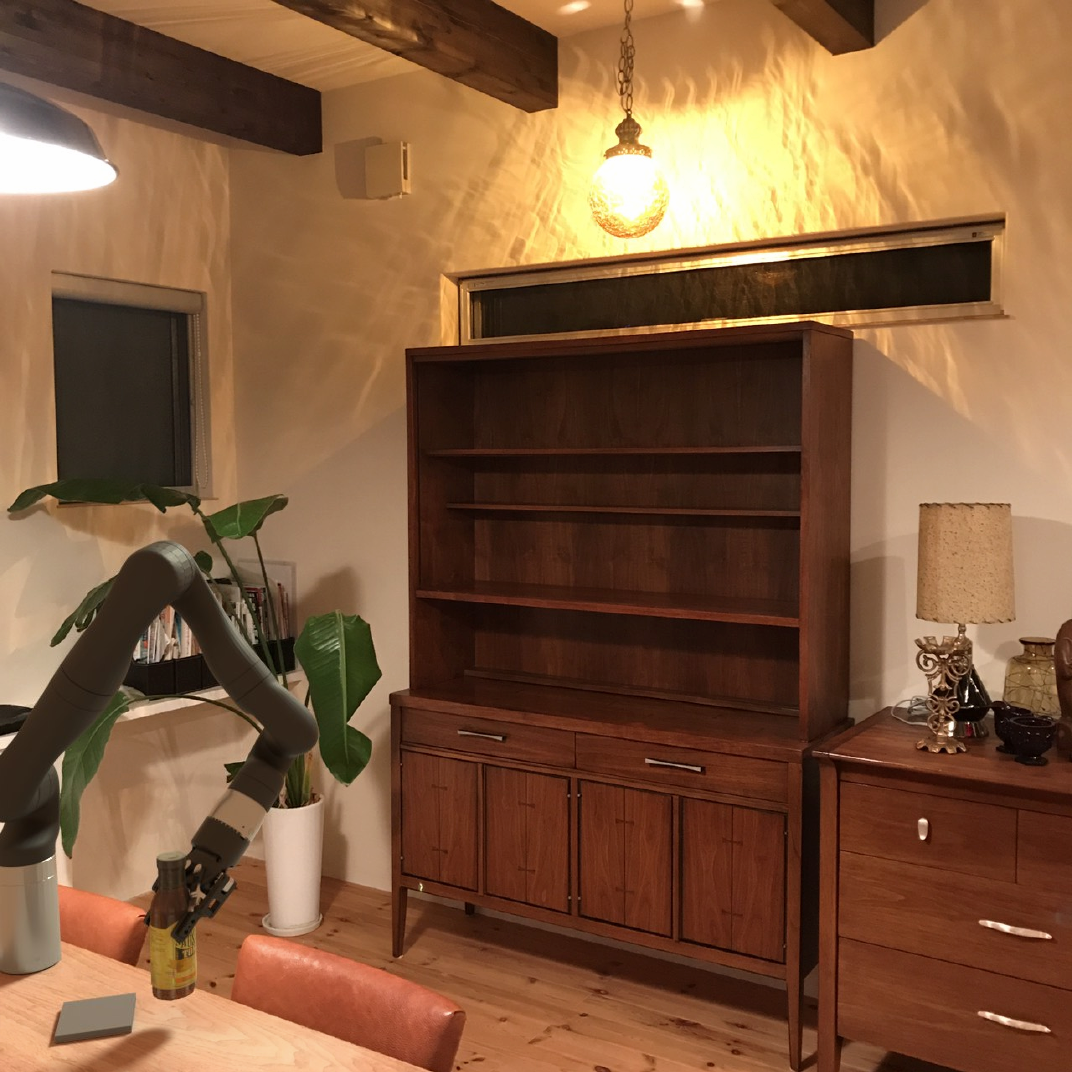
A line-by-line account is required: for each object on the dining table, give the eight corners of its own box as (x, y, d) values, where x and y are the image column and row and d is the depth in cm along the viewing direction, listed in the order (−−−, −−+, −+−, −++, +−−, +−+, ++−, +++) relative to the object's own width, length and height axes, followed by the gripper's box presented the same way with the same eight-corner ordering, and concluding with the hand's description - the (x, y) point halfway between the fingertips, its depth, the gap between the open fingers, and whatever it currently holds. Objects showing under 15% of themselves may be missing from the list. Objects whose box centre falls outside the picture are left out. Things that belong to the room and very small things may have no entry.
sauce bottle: (183, 1005, 161) (178, 867, 159) (142, 1001, 162) (137, 863, 160) (206, 982, 168) (201, 849, 166) (166, 979, 169) (161, 846, 167)
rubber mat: (63, 1008, 169) (63, 1002, 169) (136, 998, 172) (135, 992, 172) (55, 1043, 160) (54, 1036, 160) (131, 1032, 163) (131, 1025, 162)
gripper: (184, 805, 173) (115, 907, 165) (244, 825, 164) (174, 935, 156) (216, 830, 178) (150, 930, 170) (275, 851, 168) (209, 959, 161)
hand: (162, 932), depth 163 cm, fingers closed on sauce bottle, 6 cm apart
